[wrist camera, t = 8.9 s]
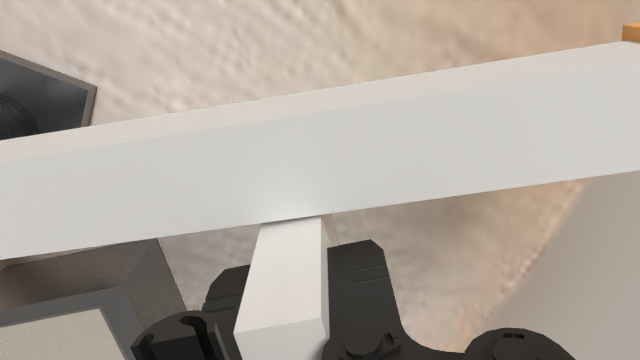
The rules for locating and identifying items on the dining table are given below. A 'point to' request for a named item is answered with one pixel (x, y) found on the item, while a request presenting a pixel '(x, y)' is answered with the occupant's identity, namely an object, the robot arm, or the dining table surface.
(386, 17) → the dining table surface
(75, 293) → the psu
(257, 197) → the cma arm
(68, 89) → the post
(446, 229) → the dining table surface
